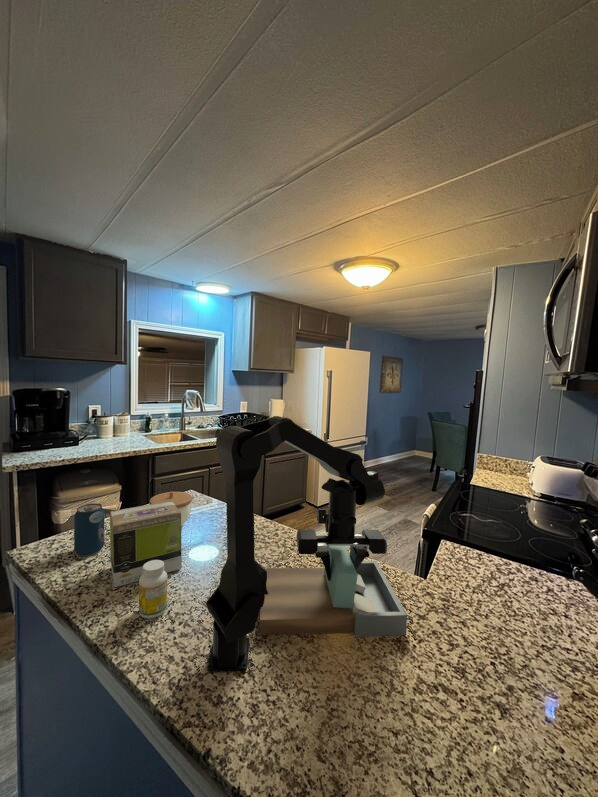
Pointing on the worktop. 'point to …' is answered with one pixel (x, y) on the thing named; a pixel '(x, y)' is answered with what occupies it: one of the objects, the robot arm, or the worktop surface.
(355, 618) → the tray
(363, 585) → the tile
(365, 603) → the tile
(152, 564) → the supplement bottle
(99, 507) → the soda can
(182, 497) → the lidded bowl
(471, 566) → the worktop surface
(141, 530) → the tea box
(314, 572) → the board
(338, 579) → the tapered teal post
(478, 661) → the worktop surface
